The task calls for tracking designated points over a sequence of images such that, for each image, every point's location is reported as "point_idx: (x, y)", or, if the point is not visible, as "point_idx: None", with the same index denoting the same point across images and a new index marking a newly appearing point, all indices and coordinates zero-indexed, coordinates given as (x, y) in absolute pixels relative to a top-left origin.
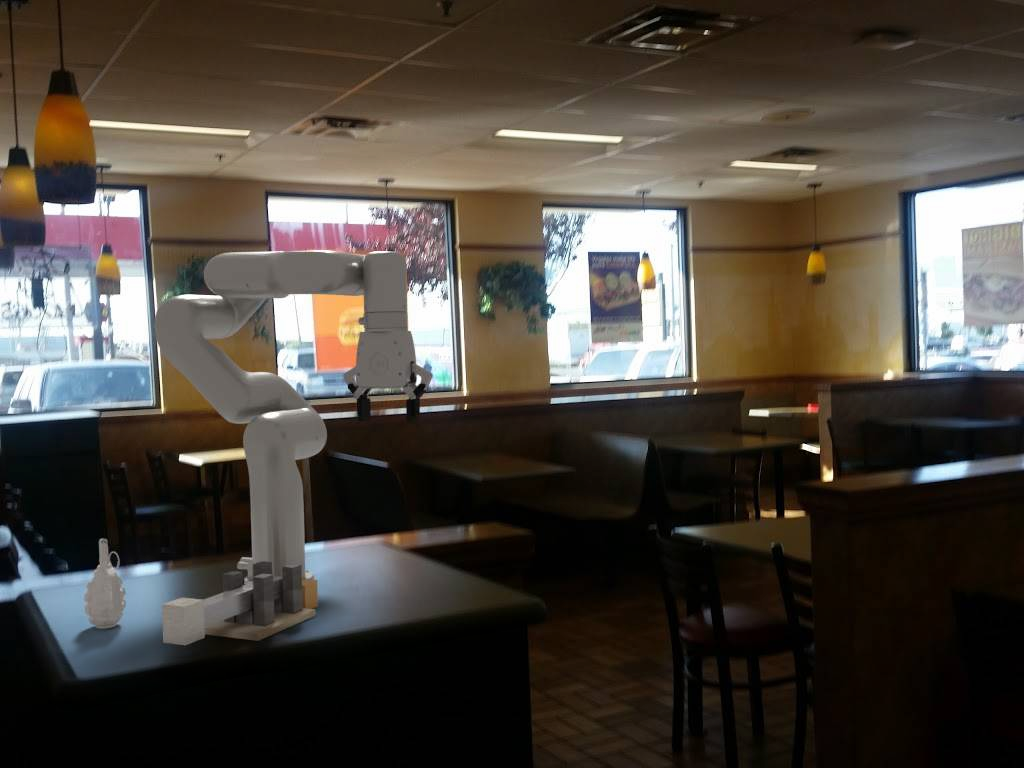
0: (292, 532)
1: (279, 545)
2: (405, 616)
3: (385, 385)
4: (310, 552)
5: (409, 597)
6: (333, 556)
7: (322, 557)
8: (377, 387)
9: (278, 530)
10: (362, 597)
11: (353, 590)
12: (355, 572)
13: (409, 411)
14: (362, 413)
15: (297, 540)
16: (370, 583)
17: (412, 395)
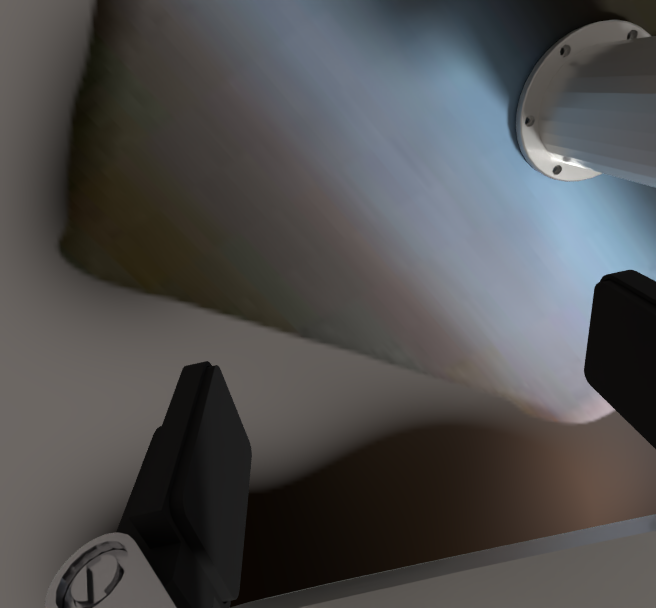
0: (616, 100)
1: (619, 61)
2: (163, 25)
3: (437, 604)
4: None
5: (270, 158)
6: None
7: None
8: (615, 533)
9: (651, 57)
10: (351, 105)
11: (404, 141)
12: (486, 252)
13: (166, 418)
14: (637, 313)
15: (593, 116)
16: (409, 203)
17: (92, 585)
